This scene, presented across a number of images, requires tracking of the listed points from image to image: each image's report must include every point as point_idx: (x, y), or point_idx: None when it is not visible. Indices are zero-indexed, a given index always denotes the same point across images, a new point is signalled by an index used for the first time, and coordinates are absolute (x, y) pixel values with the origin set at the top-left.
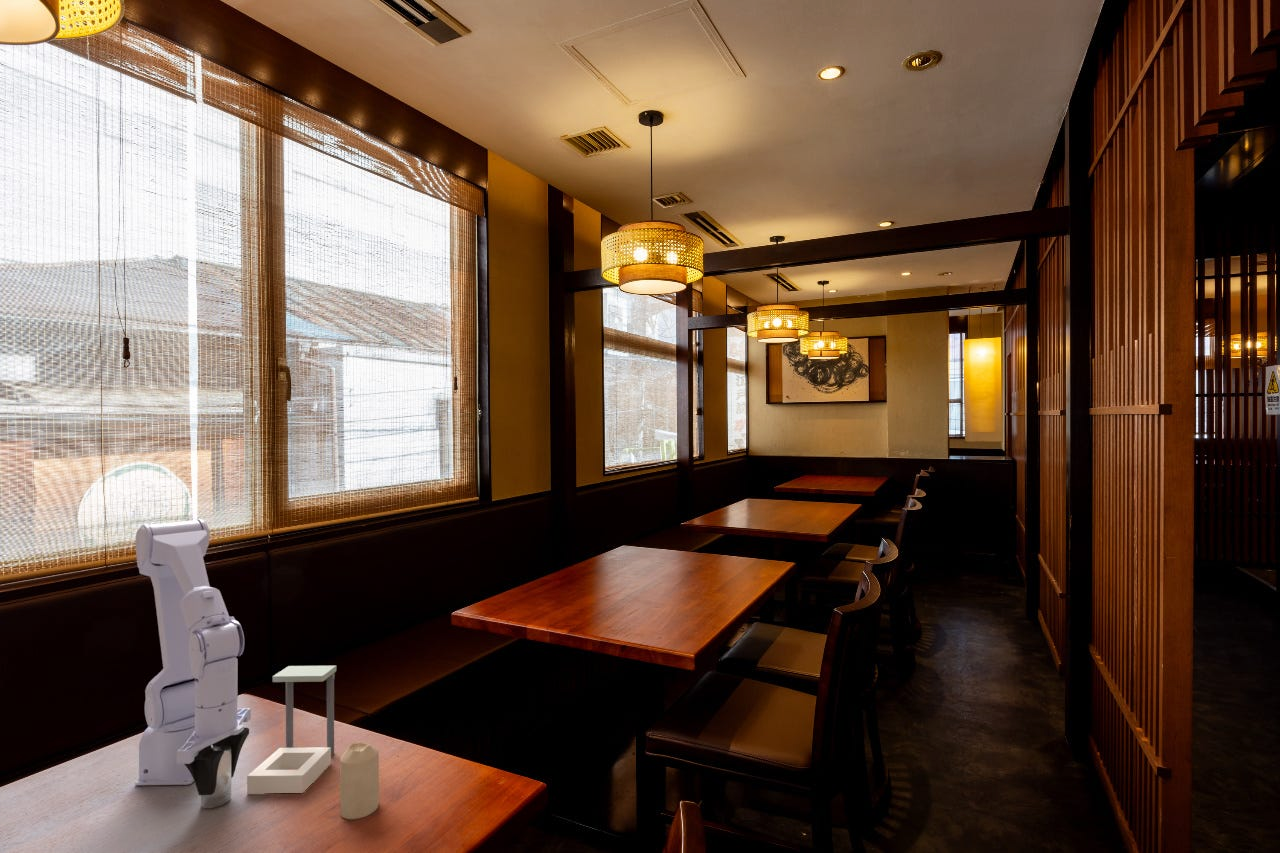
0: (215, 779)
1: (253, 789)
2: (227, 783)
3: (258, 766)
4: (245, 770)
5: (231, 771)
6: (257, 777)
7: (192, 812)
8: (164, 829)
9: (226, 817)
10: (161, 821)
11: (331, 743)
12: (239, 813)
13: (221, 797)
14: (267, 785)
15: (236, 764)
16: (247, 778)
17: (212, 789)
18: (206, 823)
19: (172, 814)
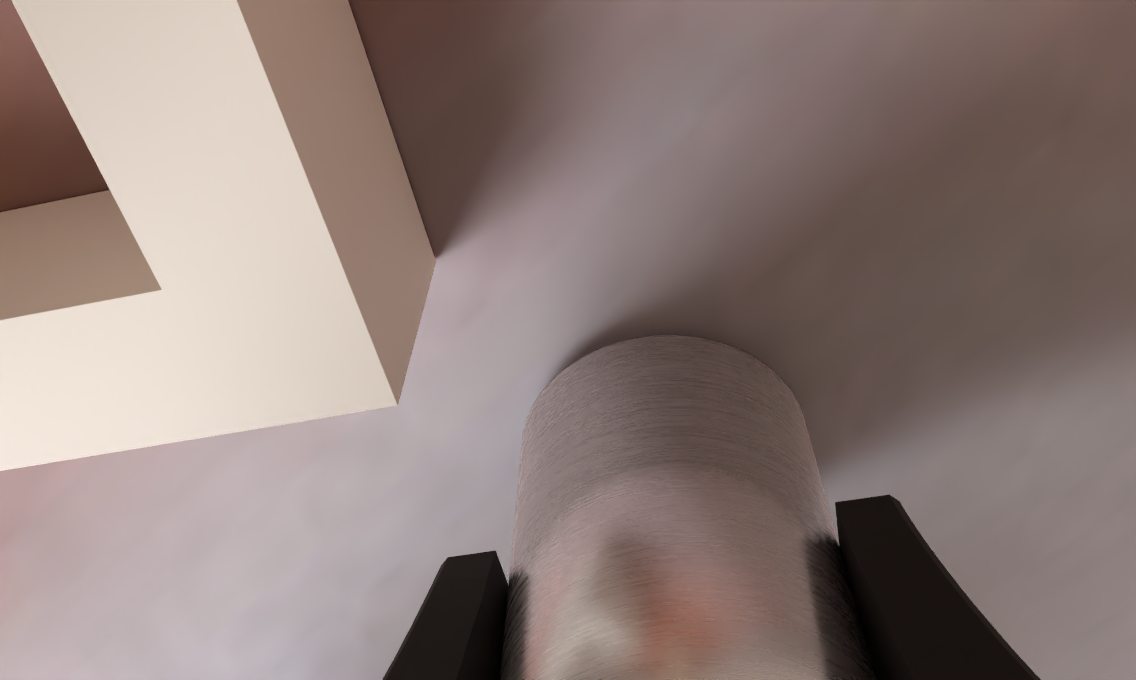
0: (923, 630)
1: (398, 219)
2: (679, 487)
3: (136, 442)
4: (95, 597)
5: (485, 621)
6: (346, 251)
7: None
8: (1123, 534)
9: (924, 114)
10: None
11: None
12: (829, 16)
13: (746, 402)
14: (316, 43)
15: (395, 668)
16: (401, 377)
17: (915, 536)
18: (1046, 247)
19: None
